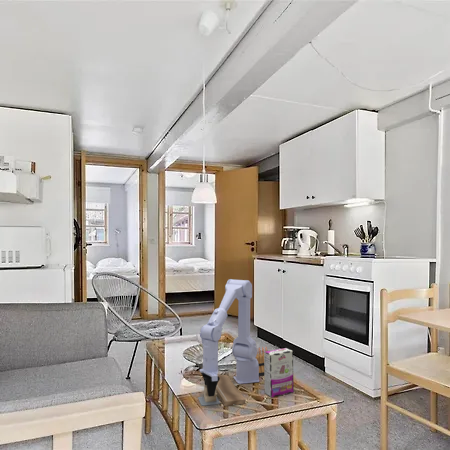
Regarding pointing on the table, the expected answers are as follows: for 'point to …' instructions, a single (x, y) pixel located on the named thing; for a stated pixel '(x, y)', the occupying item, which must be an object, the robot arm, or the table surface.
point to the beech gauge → (206, 397)
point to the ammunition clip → (261, 360)
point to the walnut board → (228, 392)
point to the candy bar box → (278, 372)
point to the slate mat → (208, 402)
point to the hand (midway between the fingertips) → (210, 393)
